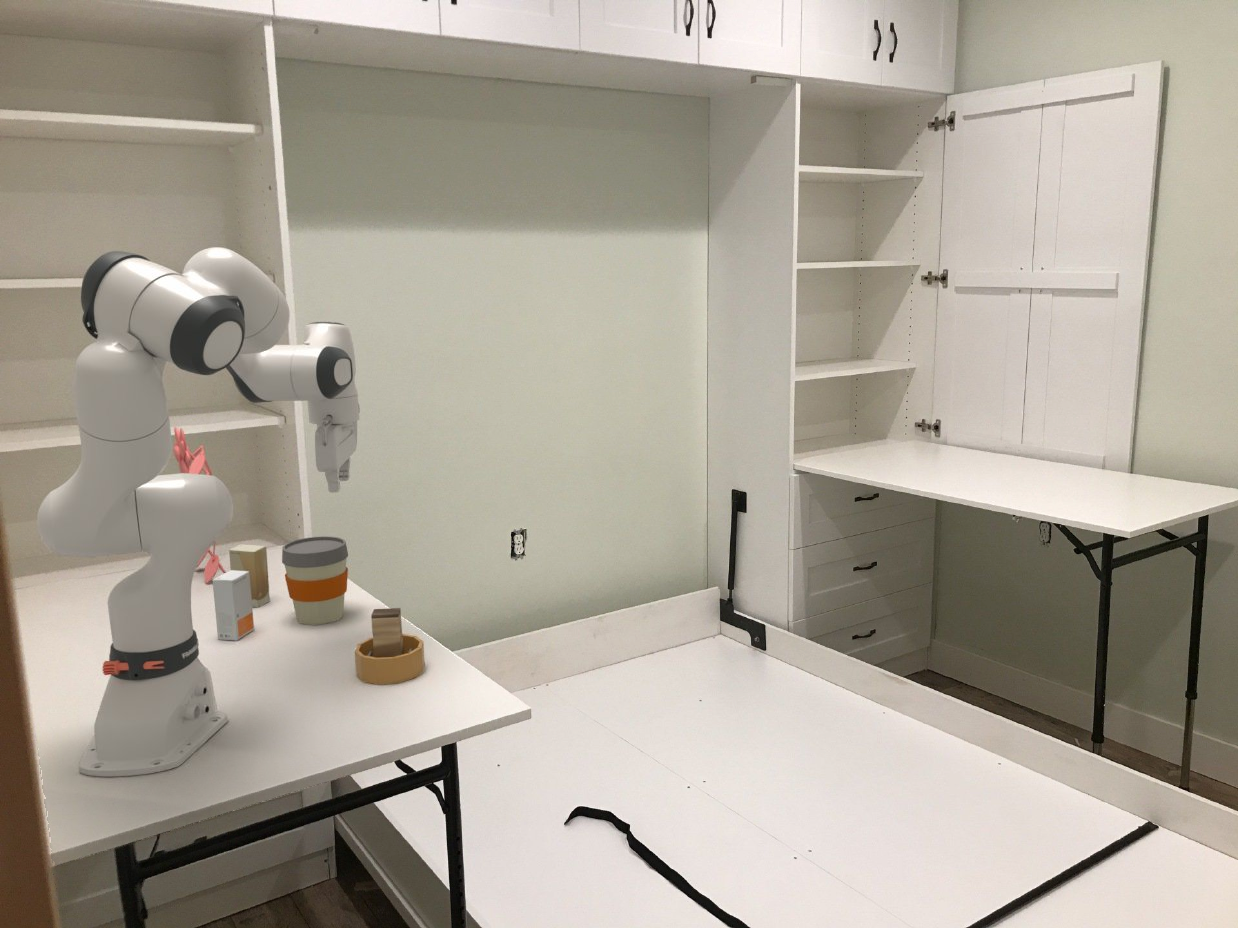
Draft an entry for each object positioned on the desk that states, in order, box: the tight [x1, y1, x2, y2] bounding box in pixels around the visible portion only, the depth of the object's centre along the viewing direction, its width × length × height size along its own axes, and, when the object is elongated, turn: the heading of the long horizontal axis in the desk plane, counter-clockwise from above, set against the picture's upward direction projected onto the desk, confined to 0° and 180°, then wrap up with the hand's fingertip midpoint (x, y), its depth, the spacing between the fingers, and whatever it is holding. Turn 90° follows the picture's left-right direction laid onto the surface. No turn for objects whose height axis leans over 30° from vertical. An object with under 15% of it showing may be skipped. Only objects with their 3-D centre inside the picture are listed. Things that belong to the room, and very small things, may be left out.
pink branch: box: [172, 426, 227, 584], centre depth 219 cm, size 15×26×35 cm, turn 31°
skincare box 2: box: [212, 569, 255, 642], centre depth 187 cm, size 6×4×12 cm
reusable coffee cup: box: [281, 535, 349, 626], centre depth 195 cm, size 13×13×15 cm
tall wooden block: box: [370, 607, 403, 658], centre depth 169 cm, size 3×4×10 cm, turn 95°
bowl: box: [354, 633, 426, 685], centre depth 169 cm, size 11×11×4 cm
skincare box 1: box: [228, 543, 271, 608], centre depth 204 cm, size 6×4×12 cm
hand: (339, 485), depth 181 cm, fingers open, 8 cm apart
